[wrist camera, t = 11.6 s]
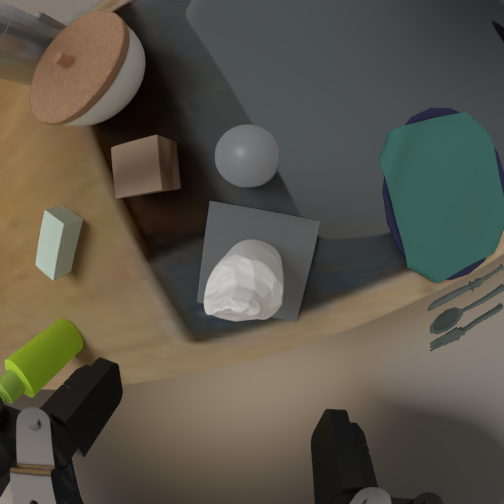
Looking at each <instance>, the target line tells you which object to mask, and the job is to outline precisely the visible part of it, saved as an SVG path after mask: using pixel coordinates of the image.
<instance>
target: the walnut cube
mask: <svg viewBox="0 0 504 504" xmlns="http://www.w3.org/2000/svg"><path fill="white" fill-rule="evenodd" d="M111 153H112V167H113V179H114V189H115V198H116V199H117V198H124V197H133V196H141V195H146V194H152V193H157V192H163V191H169V190H176V189H181V184H180V175H179V165H178V154H177V142H175V141H172V140H170V139H167V138H164V137H162V136H159V135H154V136H150V137H146V138H142V139H138V140H135V141H131V142H127V143H124V144H121V145H117V146H114V147H111Z"/></svg>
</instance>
